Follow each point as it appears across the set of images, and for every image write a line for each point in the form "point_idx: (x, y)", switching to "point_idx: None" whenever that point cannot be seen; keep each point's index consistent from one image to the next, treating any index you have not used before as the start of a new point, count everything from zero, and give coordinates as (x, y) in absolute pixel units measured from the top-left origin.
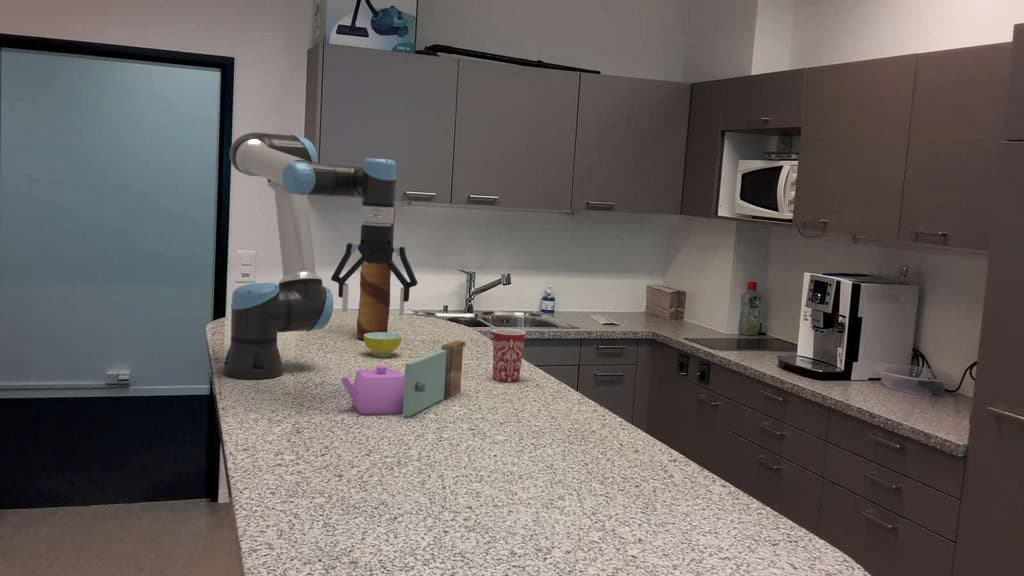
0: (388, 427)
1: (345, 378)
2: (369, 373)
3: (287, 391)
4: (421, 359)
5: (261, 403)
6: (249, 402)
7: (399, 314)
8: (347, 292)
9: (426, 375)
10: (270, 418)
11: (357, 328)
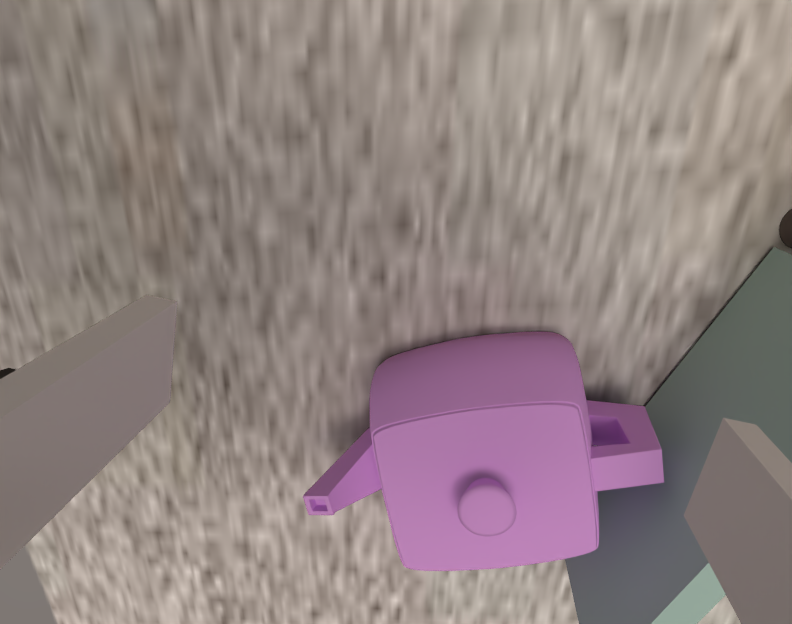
0: (491, 616)
1: (325, 497)
2: (429, 497)
3: (108, 135)
4: (704, 603)
5: (58, 336)
6: (16, 323)
7: (689, 524)
8: (58, 417)
9: None
10: (129, 514)
11: None
